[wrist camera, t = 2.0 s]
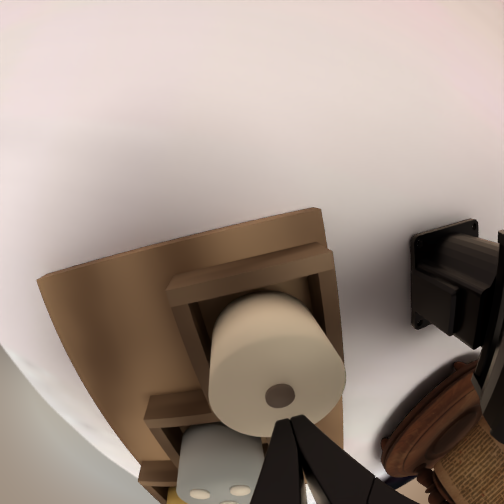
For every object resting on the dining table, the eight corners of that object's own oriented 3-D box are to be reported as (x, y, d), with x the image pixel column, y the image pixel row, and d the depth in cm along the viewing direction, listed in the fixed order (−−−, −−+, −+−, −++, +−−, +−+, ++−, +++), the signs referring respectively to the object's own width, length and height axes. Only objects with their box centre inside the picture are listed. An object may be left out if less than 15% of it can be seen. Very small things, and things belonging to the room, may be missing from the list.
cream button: (307, 278, 12) (344, 320, 8) (319, 364, 13) (348, 420, 9) (199, 303, 12) (188, 357, 8) (227, 387, 13) (229, 449, 9)
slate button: (252, 412, 14) (260, 471, 10) (267, 457, 15) (277, 507, 11) (170, 424, 14) (160, 480, 9) (197, 466, 15) (195, 515, 11)
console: (313, 207, 14) (338, 213, 11) (339, 463, 20) (350, 489, 16) (46, 274, 14) (14, 292, 10) (174, 491, 19) (171, 517, 16)
